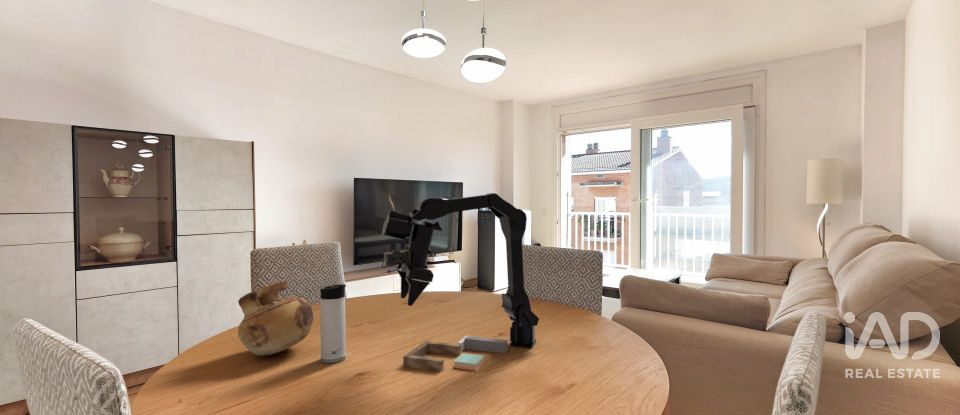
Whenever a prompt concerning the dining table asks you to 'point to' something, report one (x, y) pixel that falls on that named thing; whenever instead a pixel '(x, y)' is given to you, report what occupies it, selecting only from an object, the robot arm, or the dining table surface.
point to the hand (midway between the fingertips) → (405, 301)
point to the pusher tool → (483, 344)
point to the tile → (469, 361)
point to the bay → (418, 361)
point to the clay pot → (273, 320)
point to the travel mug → (332, 323)
